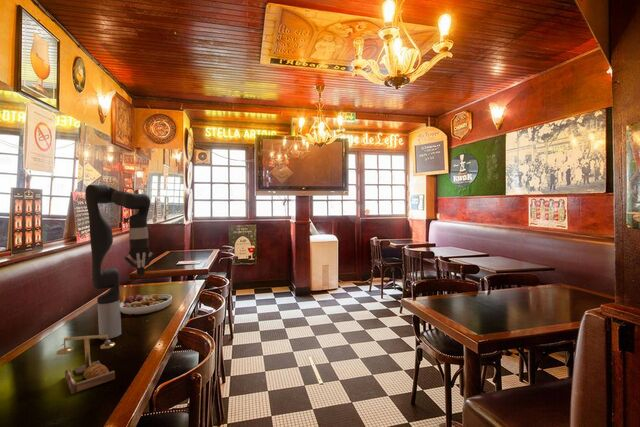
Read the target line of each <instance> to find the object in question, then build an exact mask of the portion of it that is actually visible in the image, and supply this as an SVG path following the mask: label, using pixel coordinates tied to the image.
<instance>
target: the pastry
mask: <svg viewBox="0 0 640 427" xmlns="http://www.w3.org/2000/svg"><path fill="white" fill-rule="evenodd" d="M108 372H110V371H109V369H108V367H107V366H106V365H105V364H102V363H101V364H99V365H98V364H93V365H91V366H89V367H88V368H87V369H86V370H85V372H84V373H83V374H82V375H83V378H84V379H85V380H87V379H90V378H93V377H96V376H99V375H102V374H105V373H108Z"/></svg>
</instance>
